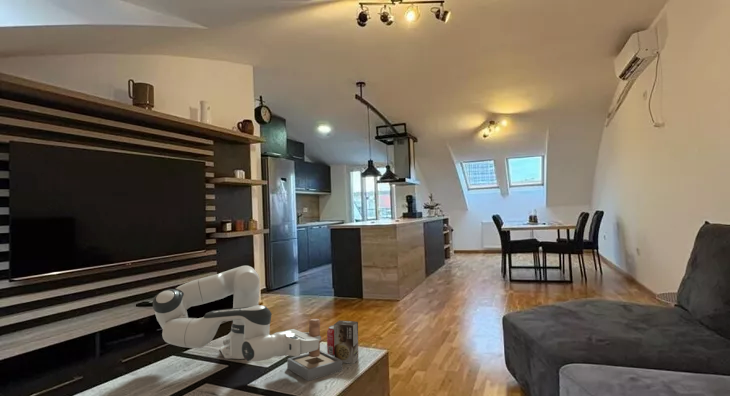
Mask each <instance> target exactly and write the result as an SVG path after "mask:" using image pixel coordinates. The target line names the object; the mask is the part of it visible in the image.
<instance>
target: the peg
mask: <svg viewBox="0 0 730 396" xmlns="http://www.w3.org/2000/svg"><path fill="white" fill-rule="evenodd" d="M320 331H321V320H320V319H319V318H311V319H309V320H308V332H309V335H310V336H312V337H315V336H317V335H319V336H321V332H320ZM320 350H321V340H320V341H319V348H318V349H317V350H315V351H312V352H308V353H309V356H310V357H318V356H320Z"/></svg>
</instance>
